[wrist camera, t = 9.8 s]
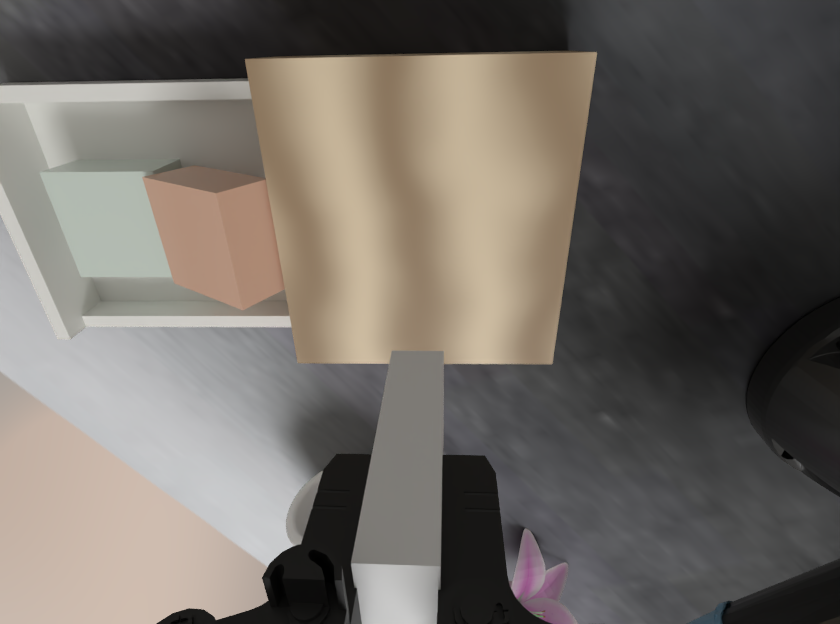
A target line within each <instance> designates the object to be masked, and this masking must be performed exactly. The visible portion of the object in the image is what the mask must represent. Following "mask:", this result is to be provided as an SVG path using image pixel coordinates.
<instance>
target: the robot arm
mask: <svg viewBox="0 0 840 624" xmlns="http://www.w3.org/2000/svg"><path fill="white" fill-rule="evenodd" d="M746 403H747V412H748V416H749V419H750V422H751V424H752V425H753V427H754V429H755V430H756V431H757V433H758V434H759V435H760V436H761V438H762V439H763V440H764V441H765V442H766V444H767V445H768V446H769V447H770V449H771V450H772V451H773V452H774V453H775V454H776V455H777V456H778V457H779V458H781V459H782V460H783V461H784V462H786V463H787V464H789V465H790V466H792V467H793V468H795V469H797V470H799V471H801V472H803V473H804V474H805V475H807V476H808V477H809V478H811V479H812V480H814V481H815V482H817V483H818V484H820V485H821V486H823V487H825V488H826V489H828V490H829V491H831V492H832V493H834V494H836V495H837V496H839V497H840V298H837V299H835V300H833V301H831V302H829V303H827V304H825V305H823V306H822V307H820V308H818V309H816V310H815V311H813V312H811V313H810V314H808V315H807V316H805V317H804V318H802V319H801V320H800V321H798V322H797V323H796V324H794V325H793V326H792V327H791V328H789V329H788V330H787V331H786V332H785V333H784V334H783V335H782V336H781V337H779V338H778V340H777V341H776V342H775V343H774V344H773V345H772V346H771V347H770V348H769V350H768V351H767V352H766V353H765V355H764V356H763V358H762V359H761V361H760V362H759V364H758V365H757V367H756V369H755V371H754V373H753V375H752V378H751V381H750V383H749V387H748V392H747V402H746ZM443 442H444V351H392V352H391V357H390V362H389V368H388V373H387V378H386V383H385V388H384V394H383V399H382V404H381V409H380V414H379V420H378V425H377V430H376V435H375V440H374V446H373V451H372V455H369V454H336V455H335V457H334V458H333V459H332V460H331V461H330V463H329V464H328V465H327V466H326V467H325V469H324V470H323V473H322V476H321V479H320V483H319V486H318V491H317V493H316V496H315V499H314V502H313V508H312V509H311V512H310V516H309V519H308V522H307V526H306V529H305V532H304V536H303V539H302V542H301V544H299V545H296V546H293V547H291V548H289V549H287V550H285V551H283V552H282V553H281V554H280V555H279V556H277V557H276V558H275V559H274V560H273V561H272V562H271V563H270V564H269V566H268V568H267V570H266V572H265V573H264V575H263V577H262V579H263V583H264V586H265V590H266V593H267V596H268V600H269V601H267V602H266V603H264V604H263V605H262V606H259V607H257V608H254V609H252V610H249V611H246V612H242V613H239V614H236V615H233V616H229V617H226V618H222V619H219V620H215V618H214V617H213V616H212V615H211V614H209V613H208V612H206V611H205V610H201V609H186V610H182V611H179V612H176V613H173V614H171V615H169V616H168V617H166V618H165V619H163V620H161V621H160V622H158V623H157V624H552V623H549V622H546V621H544V620H542V619H540V618H538V617H537V616H535V615H533V614H532V613H531V612H529V611H528V610H527V609H526V608H524V607H523V606H522V604H521V603H520V602H519V601H518V599H517V598H516V597H515V595H514V593H513V591H512V589H511V587H510V584H509V580H508V576H507V569H506V560H505V551H504V542H503V533H502V525H501V516H500V507H499V498H498V489H497V481H496V473H495V471H494V470H493V468H492V466H491V465H490V463H489V462H488V460H487V458H486V457H485V456H474V455H443ZM687 624H840V559H838V560H835V561H833V562H830V563H828V564H825V565H823V566H820V567H818V568H815V569H813V570H810V571H808V572H805V573H803V574H800V575H798V576H795V577H793V578H790V579H788V580H786V581H783V582H781V583H778V584H776V585H773V586H771V587H768V588H766V589H763V590H761V591H758V592H756V593H753V594H751V595H748V596H746V597H743V598H741V599H739V600H736V601H734V602H733V601H726V602H723V603H720V604H718V606H717V607H716V609H715V610H714V611H712V612H710V613H708V614H706V615H704V616H702V617H700V618H697V619H695V620H693V621H691V622H689V623H687Z"/></svg>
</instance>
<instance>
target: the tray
mask: <svg viewBox="0 0 840 624" xmlns="http://www.w3.org/2000/svg"><path fill="white" fill-rule="evenodd" d="M129 159H180V162H181V166H182V168H185V167H189V166H193V165H196V166H202V167H207V168H213V169H218V170H224V171H229V172H235V173H240V174H246V175H251V176H257V177H262V178H265V172H264V166H263V161H262V155H261V149H260V144H259V138H258V132H257V126H256V121H255V115H254V109H253V103H252V98H251V92H250V86H249V80H248V78H235V79H180V80H125V81H69V82H14V83H0V215H1V217H2V219H3V221H4V223H5V226H6V228H7V230H8V232H9V234H10V237H11V239H12V241H13V243H14V245H15V247H16V250H17V252H18V254H19V256H20V258H21V260H22V263H23V265H24V267H25V269H26V271H27V273H28V276H29V278H30V280H31V282H32V284H33V286H34V289H35V291H36V293H37V295H38V297H39V299H40V302H41V304H42V306H43V308H44V310H45V312H46V315H47V317H48V319H49V321H50V323H51V326H52V328H53V330H54V332H55V334H56V336H57V339H72V338H73V337H74V336H76V335H77V334H78V333H79V332H80V331H82V330H83V329H84V328H85V327H291V321H290V315H289V310H288V304H287V298H286V293H285V289H284V290H282V291H280V292H278V293H276V294H274V295H272V296H270V297H268V298H266V299H264V300H263V301H261V302H259V303H257V304H255V305H253V306H251V307H249V308H247V309H245V310H241V309H238V308H236V307H233V306H231V305H228V304H225V303H223V302H220V301H218V300H215V299H213V298H210V297H208V296H205V295H203V294H200V293H198V292H195V291H193V290H190V289H187V288H185V287H182V286H180V285H177V284H175V283H174V281H173V278H172V277H81V276H80V273H79V271H78V268H77V266H76V263H75V261H74V258H73V256H72V253H71V251H70V248H69V246H68V243H67V241H66V238H65V236H64V233H63V231H62V228H61V226H60V223H59V221H58V218H57V216H56V213H55V211H54V208H53V206H52V203H51V201H50V198H49V196H48V193H47V191H46V188H45V186H44V183H43V181H42V178H41V176H40V173H39V172H41V171H44V170H48V169H51V168H54V167H57V166H60V165H63V164H66V163H69V162H72V161H75V160H129Z"/></svg>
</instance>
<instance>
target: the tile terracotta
mask: <svg viewBox="0 0 840 624" xmlns="http://www.w3.org/2000/svg"><path fill="white" fill-rule="evenodd" d="M142 178H143V182H144V185H145V188H146V192H147V195H148V198H149V202H150V205H151V208H152V211H153V215H154V218H155V221H156V225H157V228H158V231H159V235H160V238H161V241H162V245H163V248H164V251H165V255H166V258H167V261H168V265H169V268H170V271H171V274H172V278H173V281H174V283H175V284H177V285H180V286H182V287H185V288H187V289H190V290H193V291H195V292H198V293H200V294H203V295H205V296H208V297H210V298H213V299H215V300H218V301H220V302H223V303H225V304H228V305H231V306H233V307H236V308H238V309H241V310H245V309H247V308H249V307H251V306H253V305H255V304H257V303H259V302H261V301H263V300H264V299H266V298H268V297H270V296H272V295H274V294H276V293H278V292H280V291H282V290H284V289H285V287H284V281H283V275H282V270H281V264H280V258H279V252H278V247H277V241H276V235H275V229H274V224H273V218H272V212H271V207H270V201H269V195H268V189H267V184H266V178H262V177H257V176H251V175H246V174H240V173H235V172H229V171H224V170H218V169H213V168H207V167H202V166H196V165H193V166H189V167H185V168H180V169H176V170H171V171H167V172H162V173H158V174H153V175H149V176H144V177H142Z"/></svg>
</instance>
